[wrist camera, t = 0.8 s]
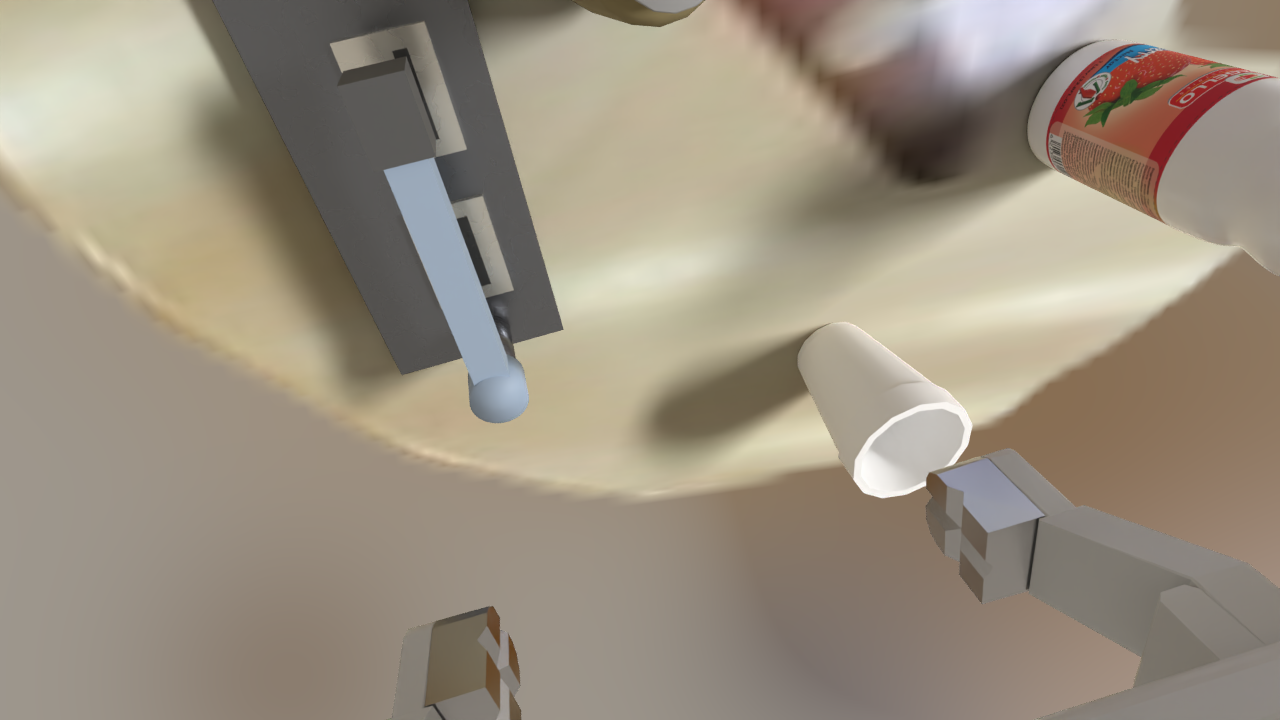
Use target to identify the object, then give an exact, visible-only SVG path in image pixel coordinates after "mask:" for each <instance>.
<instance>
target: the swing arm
mask: <svg viewBox="0 0 1280 720" xmlns="http://www.w3.org/2000/svg"><path fill="white" fill-rule="evenodd" d="M337 88H338V91H339V93H340V95H341V98H342V100H343V102H344V104H345V107H346V109H347V111H348V114H349V116H350V118H351V121H352V123H353V125H354V128H355V130H356V132H357V135H358V137H359V139H360V142H361V144H362V146H363V148H364V151H365V153H366V155H367V158H368V160H369V162H370V165H371V167H372V169H373V172H378V171H382V170H384V173H385V175H386V177H387V180H388V182H389V184H390V187H391V189H392V192H393V194H394V196H395V199H396V201H397V203H398V206H399V208H400V211H401V213H402V215H403V218H404V220H405V222H406V225H407V227H408V230H409V232H410V234H411V237H412V239H413V241H414V244H415V246H416V248H417V251H418V253H419V256H420V258H421V260H422V263H423V265H424V267H425V270H426V272H427V275H428V277H429V279H430V282H431V284H432V286H433V289H434V291H435V294H436V296H437V298H438V301H439V303H440V305H441V308H442V310H443V312H444V315H445V317H446V320H447V322H448V324H449V327H450V329H451V331H452V334H453V336H454V339H455V341H456V343H457V346H458V348H459V350H460V353H461V355H462V358H463V360H464V362H465V365H466V367H467V369H468V372H469V373H468V386H469V400H470V407H471V410H472V412H473V413H474V414H475V415H476V416H477V417H478V418H480V419H482V420H484V421H486V422H491V423H504V422H508V421H511V420H513V419H515V418H517V417H518V416H520V415H521V414H522V413H523V412H524V411H525V409H526V407H527V405H528V402H529V396H528V390H527V385H526V379H525V374H524V369H523V367H522V365H521V363H520V362H519V361H518V360H517V359H515V358H514V357H512V356H510V355H507V354H506V352H505V350H504V347H503V344H502V341H501V339H500V336H499V333H498V331H497V328H496V325H495V322H494V320H493V317H492V314H491V312H490V309H489V306H488V303H487V301H486V298H485V295H484V293H483V290H482V287H481V284H480V282H479V279H478V276H477V274H476V271H475V268H474V265H473V263H472V260H471V257H470V255H469V252H468V249H467V246H466V244H465V241H464V238H463V236H462V233H461V230H460V227H459V225H458V222H457V219H456V217H455V214H454V211H453V208H452V206H451V203H450V200H449V198H448V195H447V192H446V189H445V187H444V184H443V181H442V179H441V176H440V173H439V170H438V168H437V165H436V162H435V159H434V157H436V137H435V135H434V132H433V129H432V126H431V123H430V121H429V118H428V115H427V112H426V110H425V107H424V104H423V101H422V98H421V96H420V93H419V90H418V87H417V85H416V82H415V79H414V76H413V73H412V71H411V68H410V65H409V62H408V60H407V57H406V56H405V57H401V58H397V59H393V60H388V61H384V62H380V63H376V64H371V65H367V66H363V67H359V68H355V69H350V70H346V71H343V73H342V75H341V78H340V80H339V82H338V85H337Z"/></svg>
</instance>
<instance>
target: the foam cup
mask: <svg viewBox="0 0 1280 720" xmlns="http://www.w3.org/2000/svg"><path fill="white" fill-rule="evenodd" d="M798 368H799V370H800V373H801V375H802V377H803V379H804V381H805V384H806V386H807V388H808V390H809V392H810V394H811V396H812V398H813V400H814V402H815V404H816V406H817V408H818V410H819V412H820V415H821V417H822V419H823V421H824V423H825V425H826V427H827V429H828V431H829V433H830V435H831V437H832V439H833V441H834V443H835V446H836V448H837V450H838V452H839V456H838V458H839V459H840V461H841V462H842V463H843V465H844V466H845V468H846V469H847V471H848V472H849V474H850V475H851V477H852V478H853V480H854V481H855V482H856V484H857V485H858V486H859V488H860V489H861V490H862V492H863V493H865V494H869V495H873V496H876V497H880V498H886V497H893V496H900V495H906V494H908V493H910V492H913V491H915V490H917V489H919V488H921V487H923V486H926V477H927V476H928V474H929V472H932V471H935V470H938V469H941V468H944V467H948V466H951V465H954V464H955V462H956V461H957V460H958V458H959V457H960V455H961V454H962V453H963V451H964V450H965V448H966V447H967V446H968V442H969V437H970V434H971V429H972V423H971V421H970V419H969V416H968V414H967V412H966V410H965V409H964V408H963V407H962V406H961V405H960V403H959V402H958V401H957V400H956V399H955V398H954V397H953V396H952V395H951V394H950V393H949V392H948V391H947V390H946V389H944V388H941V387H939V386H937V385H935V384H933V383H932V382H931V381H929V380H928V379H927V378H925V377H924V376H923V375H921V374H920V373H919V372H918V371H916V370H915V369H914V368H912V367H911V366H910V365H908V364H907V363H906V362H904V361H903V360H902V359H900V358H899V357H898V356H896V355H895V354H894V353H892V352H891V351H890V350H888V349H887V348H886V347H884V346H883V345H882V344H880V343H879V342H878V341H876V340H875V339H874V338H872V337H871V336H870V335H868V334H867V333H866V332H864V331H863V330H861V329H859V327H857V326H855V325H853V324H851V323H848V322H835V323H830V324H828V325H826V326H824V327H822V328H819V329H817V330H816V331H815V332H814V333H813V334H812V335H811V336H810V337H809V338H807V339H806V340H805V341H804V343H803V345H802V347H801V349H800V351H799V353H798Z"/></svg>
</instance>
